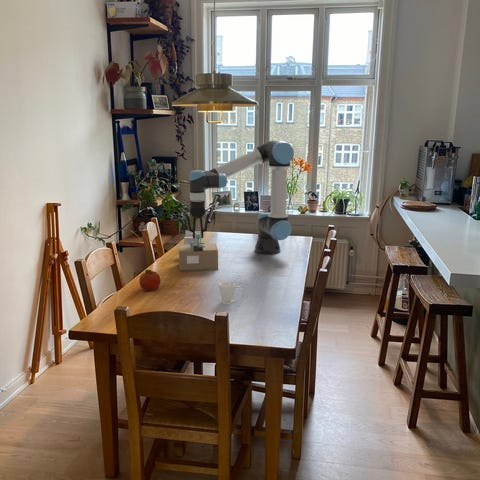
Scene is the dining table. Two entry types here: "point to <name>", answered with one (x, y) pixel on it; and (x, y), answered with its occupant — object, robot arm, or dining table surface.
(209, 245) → the flap
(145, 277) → the fruit
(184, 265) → the carton
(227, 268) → the dining table surface
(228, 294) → the cup
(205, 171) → the robot arm
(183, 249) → the flap
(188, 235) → the ink box
